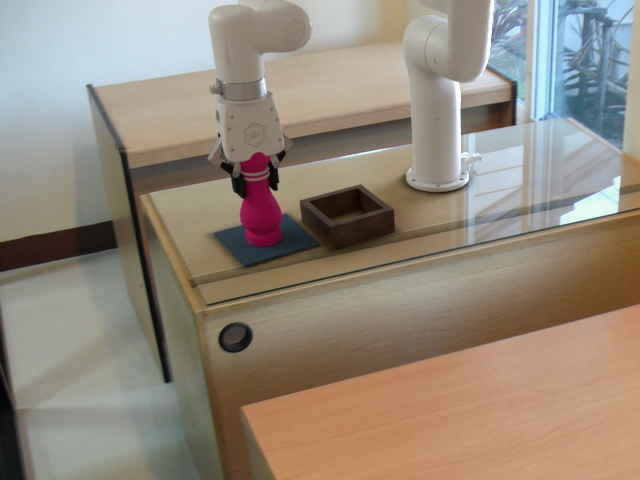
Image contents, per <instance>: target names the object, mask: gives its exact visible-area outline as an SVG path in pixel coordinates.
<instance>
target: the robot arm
mask: <svg viewBox="0 0 640 480" xmlns="http://www.w3.org/2000/svg"><path fill="white" fill-rule="evenodd" d="M417 2H418V3H419V4H421V6H424V7H426V8H427V9H429V10H430V9H431V10H433V11H436V12H438V13H442V14H444V15H447V19H445V18H443V17H440V16H436V15H429V14H425V15H420V16H417V17H415V18H413V19H412V20H411V21H410V22H409V23H408V25H407V26H406V28H405V30H404V32H403V38H402V53H403V57H404V62H405V67H406V70H407V76H408V77H407V78H408V84H409V98H410V120H411V122H410V123H411V124H410V125H411V144H412V145H411V146H412V147H411V148H412V167H410V168H409V169H408V170H407V171H406V173H405V180H406V183H407V184H408V185H409V186H411V187H412V188H414V189H416V190H419V191H423V192H429V193H445V192H451V191H454V190H455V191H456V190H458V189H460V188H463V187H464V186H465V185H466V184H467V183H468V182H469V179H470V178H469V176H470V175H469V170H467V169H468V168H469V166H471V165H477V164H480V163H481V162H482V161H483V159H482V156H481V154H480V153H473V154H469V152H468V151H465V152H462V151H461V150H462V147H461V146H462V145H461V143H462V140H461V137H462V136H461V90H460V84H470V83H474V82H475V81H477V80H478V79H479V78H481V76H482V75H483V73H484V72H485V70H486V67H487V64H488V61H489V56H490V50H491V40H492V39H491V38H492V28H493V17H494V16H493V15H494V4H495V3H494V2H495V0H417ZM208 28H209V34H210V41H211V47H212V54H213V61H214V67H215V74H216V78H215V83H214V84H213V85H210V86H209V91H210V94H211V95H219V96H216V98H215V132H216V141H215V144H214V146H213V147H212V149H211V151H210V152H209V154H208V156H207V161H208V162H209V163H210V164H212V165H214V166H215V167H218V168H219V169H221V170H223V171H225V172H226V173H228V174H229V175H230V181H231V188H232V191H233V193H234V194H236V195H238V197H239V198H241V199H242V200H243V199H244V198H246V191H245V184H244V178H243V176H242V175H241V174H240V170H241V165H240V163H239V162H244V161H247V160H249V159H250V158H251V156H252V155H253V154H255V153H257V152H262V153H263V154H265V156H270V160H269V162H268V164H267V165H268V166H269V172H270V175H269V176H268V184H269V188H270V190H272V191H274V192H278V191H279V185H278V184H280V175H279V168H280V167H281V163H282V161H283V159H284V158H285V157H286V155H287V153H288V152H289V151H290V150H291V149H292V148H293V146H294V141H293V140H292V139H291V138H290V137H288V136H287V134H285V133H284V132H283V127H282V123H281V119H280V114H279V110H278V107H277V104H276V99H275V97H274V94H273V92H271V91H269V90H268V87H267V81H266V79H267V78H266V71H265V63H264V54H271V53H273V54H275V53H277V54H278V53H279V54H280V53H292V52H295V51H299V50H300V49H302V48H304V47H305V46H306V45H307V44H308V42H309V41H310V39H311V37H312V34H313V23H312V20H311V18H310V15H308V13H307V12H306V10H304V9H303V8H302V7H301V6H299V5H297V4H296V3H293V2H291V1H288V0H238V1H237V4H224V5H219V6H217V7H214V8H212V9H211V10H210V12H209V13H208ZM222 155H224V156H225V159H226V160H227V161H226V160H224V159H221V156H222Z"/></svg>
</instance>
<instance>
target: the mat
mask: <svg viewBox="0 0 640 480" xmlns="http://www.w3.org/2000/svg"><path fill="white" fill-rule="evenodd" d="M279 226H280V227H281V231H282V239H281V240H280V241H279V242H278V243H276V244H274V245H271V246H266V247H257V246H253V245H250V244H249V243H248V242H247V240H246V234H245V231H246V228H245V227H244V226H243V225H242V224H241V225H237V226H233V227H230V228H227V229H226V228H225V229H222V230H219V231H215V232H213V235H214V236H215V237H216V239H217V240H218V241H220V243H221V244H222V245H223V246H224V247H225V248H226V249H227V250H228V251H229V252H230V253H231V254H232V255H233V257H235V258H236V260H237V261H238V262H239V263H240V264H241V265H242V266H243V267H244V268H247V267H251V266H255V265H258V264H262V263H264V262H268V261H271V260H275V259H278V258H281V257H286V256H289V255H292V254H295V253H300V252H302V251H305V250H309V249H312V248H315V247H319V246H320V243H319V242H318V241H317V239H315V238H314V237H313V236H312V235H311V234H309V232H308V231H306V230H305V229H304V228H303V227H302V226H301V225H300V224H299V223H298V222H297V221H295V220H294V219H293V218H292V217H291V216H289V215H288V214H287V212H285V213H282V221H281V223H280V224H279Z"/></svg>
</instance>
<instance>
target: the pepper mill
mask: <svg viewBox="0 0 640 480" xmlns="http://www.w3.org/2000/svg"><path fill="white" fill-rule="evenodd" d="M269 160H270V156H265V154H263V153H262V152H257V153H255V154H253V155H252V156H251V158H250V159H249V160H247V161H244V162H239V163H240V165H241V170H240V174H241V175H242V176H243V178H244V184H245V191H246V198H244V199H242V203H241V205H240V209H239V220H240V223H241V225H243V226H244V227H245V228H246V231H245V234H246V240H247V242H248V243H249V244H250V245H253V246H257V247H266V246H271V245H274V244H276V243H278V242H279V241H280V240H281V239H282V231H281V227H280V226H279V224H280V223H281V221H282V214H283V212H282V208H281V206H280V204H279V203H278V201H277V199H276V197H275V196H274V194H273V192H272V191H271V190H272V189H271V188H270V187H269V184H268V176H269V175H270V172H269V166H268V165H267V164H268V162H269Z"/></svg>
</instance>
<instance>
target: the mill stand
mask: <svg viewBox="0 0 640 480" xmlns="http://www.w3.org/2000/svg"><path fill="white" fill-rule="evenodd" d="M298 201H299V208H300V217H301V223H302V224H303V225H304V226H305V227H306V228H308V229H309V231H311V232H312V233H313V234H314V235H315V236H317V238H319V239H320V240H321V241H322V242H323V243H325V244H326V245H327V246H328V248H330V249H331V250H333V251H334V250H338V249H341V248H345V247H348V246H351V245H355V244H358V243H362V242H365V241H367V240H372V239H375V238H378V237H383V236H385V235H389V234H391V233H395V232H396V220H395V219H396V218H395V209H394V208H393V207H391V206H390V205H389V204H387V202H385V201H384V200H383V199H381V198H380V197H378V196H377V195H376V194H375V193H373V192H371V191H370V190H369V189H368V188H366V187H365V186H364V185H363V184H361V183H360V184H356V185H352V186H348V187H344V188H340V189H337V190H334V191H330V192H325V193H322V194H319V195H315V196H311V197H307V198H303V199H299V200H298ZM359 211H360V212H361V213H363V214H359V215H356V216H352V217H350V218H349V217H348V218H345V219H342V220H338V221H333V220H331V219H332V218H336V217H340V216H343V215H346V214H347V215H348V214H351V213H354V212H359Z"/></svg>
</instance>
